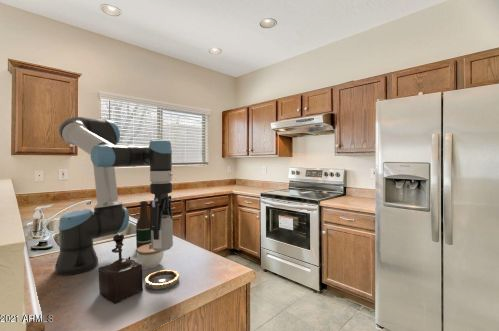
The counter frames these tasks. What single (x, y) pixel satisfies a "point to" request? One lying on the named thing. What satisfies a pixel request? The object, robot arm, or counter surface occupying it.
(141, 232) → the beer bottle
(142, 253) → the lidded jar
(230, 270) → the counter surface
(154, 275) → the coaster
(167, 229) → the can
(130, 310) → the counter surface
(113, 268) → the dark brown coffee grinder
